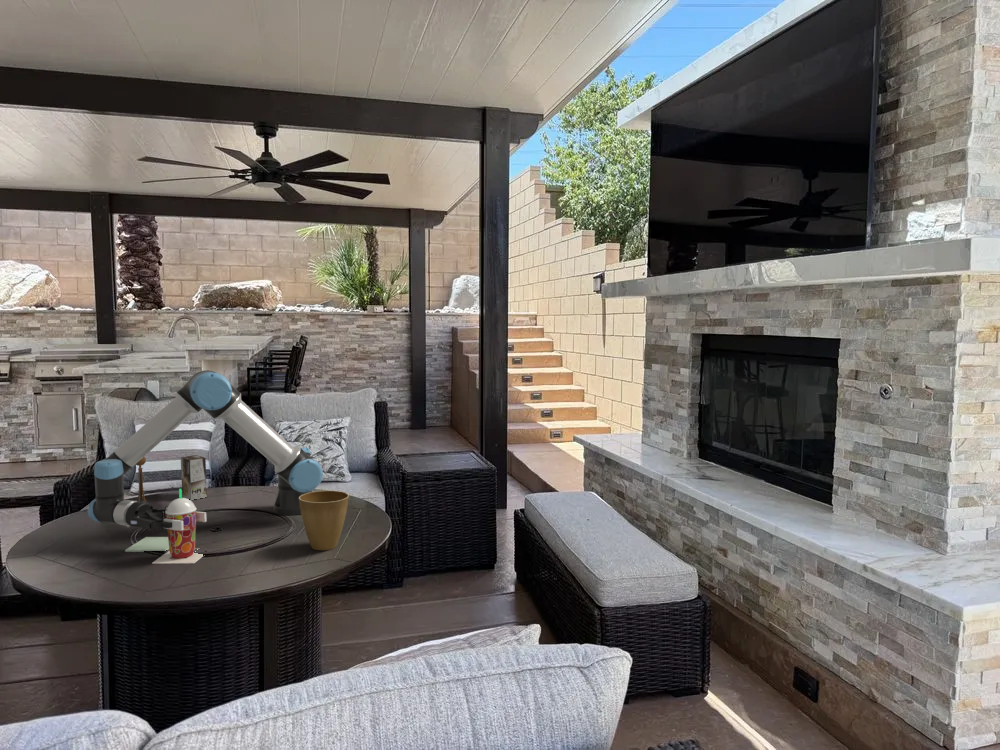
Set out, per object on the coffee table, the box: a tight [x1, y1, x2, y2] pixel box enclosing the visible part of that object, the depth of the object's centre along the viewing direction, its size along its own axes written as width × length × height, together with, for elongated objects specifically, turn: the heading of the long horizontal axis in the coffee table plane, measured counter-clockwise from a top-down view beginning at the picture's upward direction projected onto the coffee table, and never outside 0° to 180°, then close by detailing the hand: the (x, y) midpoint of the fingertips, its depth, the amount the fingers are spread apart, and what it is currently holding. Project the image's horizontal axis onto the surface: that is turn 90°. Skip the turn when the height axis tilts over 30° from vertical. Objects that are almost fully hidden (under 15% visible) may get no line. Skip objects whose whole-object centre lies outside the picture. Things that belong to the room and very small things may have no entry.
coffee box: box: [180, 454, 208, 501], centre depth 260 cm, size 9×6×16 cm
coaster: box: [124, 536, 169, 553], centre depth 204 cm, size 12×12×1 cm
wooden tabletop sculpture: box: [135, 456, 149, 503], centre depth 244 cm, size 6×5×20 cm
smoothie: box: [165, 488, 198, 558], centre depth 194 cm, size 8×8×20 cm
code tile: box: [151, 548, 204, 565], centre depth 195 cm, size 12×12×1 cm
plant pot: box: [299, 490, 350, 551], centre depth 203 cm, size 15×15×16 cm
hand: (194, 521), depth 192 cm, fingers closed on smoothie, 8 cm apart
